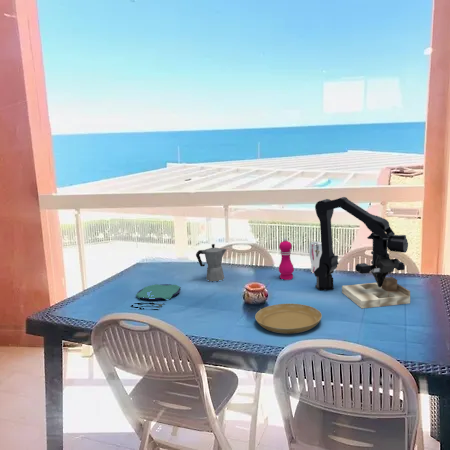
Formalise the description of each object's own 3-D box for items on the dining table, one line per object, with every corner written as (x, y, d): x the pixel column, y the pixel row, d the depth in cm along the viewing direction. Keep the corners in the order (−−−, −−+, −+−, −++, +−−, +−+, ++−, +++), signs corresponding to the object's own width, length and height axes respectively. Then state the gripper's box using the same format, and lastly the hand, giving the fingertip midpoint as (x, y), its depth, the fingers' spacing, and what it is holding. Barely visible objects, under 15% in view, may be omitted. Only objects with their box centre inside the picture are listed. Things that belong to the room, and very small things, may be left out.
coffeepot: (226, 275, 233) (224, 240, 230) (230, 280, 224) (228, 244, 221) (196, 278, 230) (193, 244, 227) (199, 284, 221) (196, 247, 218)
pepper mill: (284, 281, 218) (283, 240, 214) (276, 277, 224) (274, 237, 220) (297, 278, 221) (295, 238, 217) (288, 275, 227) (287, 235, 224)
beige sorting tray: (361, 308, 177) (361, 296, 177) (342, 292, 197) (341, 281, 196) (410, 303, 180) (410, 291, 179) (385, 288, 199) (385, 277, 199)
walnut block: (386, 291, 186) (386, 280, 185) (381, 288, 191) (381, 277, 190) (397, 290, 187) (397, 279, 186) (391, 287, 191) (391, 276, 190)
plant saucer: (276, 342, 152) (275, 333, 152) (244, 319, 174) (244, 311, 174) (335, 327, 162) (335, 318, 161) (298, 307, 183) (298, 299, 183)
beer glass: (325, 270, 231) (324, 241, 228) (322, 274, 225) (321, 244, 222) (311, 269, 234) (311, 241, 231) (308, 273, 228) (307, 244, 225)
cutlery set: (186, 288, 216) (186, 283, 216) (163, 312, 188) (162, 307, 187) (147, 287, 221) (147, 283, 221) (119, 311, 193) (118, 306, 192)
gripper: (366, 256, 176) (366, 295, 179) (412, 252, 179) (411, 290, 181) (354, 250, 187) (355, 286, 190) (397, 246, 189) (397, 282, 192)
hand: (379, 287), depth 188 cm, fingers closed
